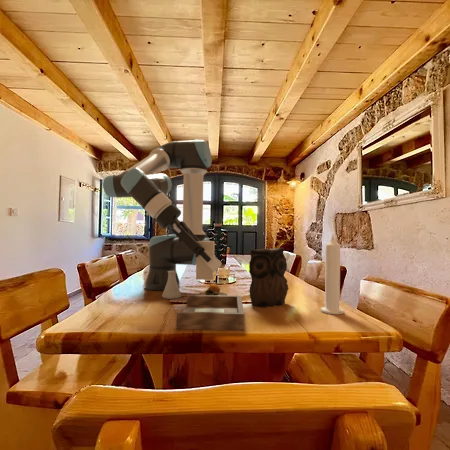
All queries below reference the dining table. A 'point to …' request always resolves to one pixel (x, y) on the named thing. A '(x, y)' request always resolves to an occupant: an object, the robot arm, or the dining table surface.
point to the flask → (171, 287)
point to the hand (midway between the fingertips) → (218, 267)
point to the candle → (332, 278)
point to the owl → (268, 277)
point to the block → (201, 267)
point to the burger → (213, 291)
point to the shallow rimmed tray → (211, 313)
